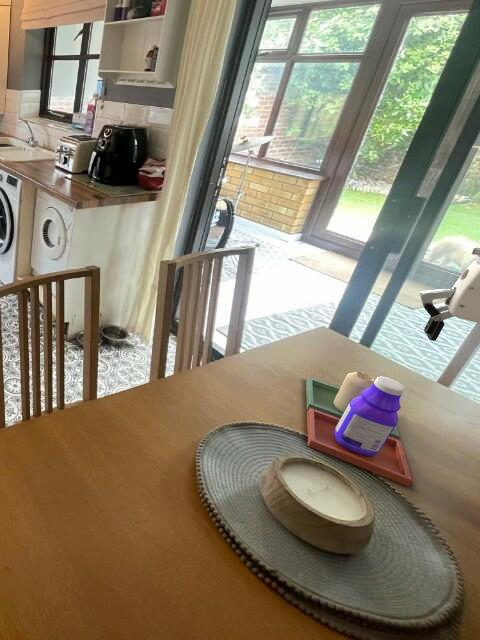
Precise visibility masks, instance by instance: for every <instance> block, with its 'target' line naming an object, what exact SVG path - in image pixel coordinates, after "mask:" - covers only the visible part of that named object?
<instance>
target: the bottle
mask: <svg viewBox="0 0 480 640" xmlns="http://www.w3.org/2000/svg"><path fill="white" fill-rule="evenodd" d="M374 380H375V381H374V383H373V385H372V386H371V387H370V388H368V389H365V390H363V391H362V395H361V396H358V397H356V398H354V399H353V400H352V401H351V402H350V403H349V405H348V407H347V408H346V410H345V412H344V414H343V415H342V417H341V419H340V421H339V423H338V424H337V426H336V428H335V438H336V441H337V442H338V444H339V445H341V446H342V447H344V448H346V449H348V450H350V451H353V452H355V453H358V454H361V455H364V456H374V455H376V454H377V453H378V452H379V451H380V449H381V448H382V446H383V445H384V443H385V442H386V440H387V439H388V437H389V436H390V434H391V433H392V431H393V430H394V428H395V427H396V425H397V426H398V423H399V417H398V416H399V415H398V412H399V411H400V410H401V408H402V407H401V402H400V401H401V400H400V399H401V398H402V395H403V393H404V392H405V386H404V385H403V384H401V382H399V381H397V380H395V379H393V378H390V377H387V376H381V375H380V376H377V377H376V378H375V379H374Z"/></svg>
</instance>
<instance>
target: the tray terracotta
mask: <svg viewBox="0 0 480 640" xmlns="http://www.w3.org/2000/svg"><path fill="white" fill-rule="evenodd" d="M306 421H307V424H306V425H307V446H308V447H310V448H312V449H315V450H317V451H320V452H322V453H324V454H326V455H327V454H328V455H330V456H332V457H335V458H337V459H339V460H342V461H345V462H347V463H349V464H352V465H354V466H357V467H358V468H361V469H364V470H367V471H369V472H371V473H374V474H377V475H378V476H381V477H384V478H387V479H389V480H391V481H394V482H396V483H398V484H402V485H403V486H406V487H409V486H410V485H411V483H412V482H413V478H412V474H411V471H410V467H409V464H408V461H407V457H406V453H405V449H404V448H403V443H402V440H400V439H398V440H397V439H394V438H392V437H388V439H387V440H386V442H385V443H384V445H383V446H382V448H381V449H380V451H379V452H378V453H377V454H376V455H374V456H364V455H361V454H358V453H355V452H353V451H350V450H348V449H346V448H344V447H342V446H341V445H339V444H338V442H337V441H336V438H335V428H336V426H337V424H338V423H339V421H340V418H337V417H334V416H331V415H329V414H326V413H323V412H320V411H318V410H315V409H312V408H309V410H308V409H307V412H306Z"/></svg>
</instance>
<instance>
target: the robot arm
mask: <svg viewBox="0 0 480 640" xmlns="http://www.w3.org/2000/svg"><path fill="white" fill-rule="evenodd" d="M471 255H472V256H477V257H479V258H480V247H474V248H473V249H472V252H471ZM419 296H420V301H421V303H422V304H421V305H422V306H423V308H424V310H425V311H426V313H428V315H429V316H430V317H429V319H428V321H427V322H426V324H425V326H424V328H423V332H424V333H425V334H426V336H427V339H428V340H429V341H432V342H435V341H437V339H438V338H439V336H440V334H441V332H442V330H443V329H444V327H445V324H446V323H445V322H444V321H445V320H448V319H451V318H454V317H455V318H457V319H461V320H465V321H468V322H474V323H477V324H480V259H475V260H474V261H473V262H472V263H471V264H470V265H469V266H468V267H467V268H466V269H465V270H464V271H463V272H462V273H461V275H460V276H459V277H458V279H457V280H456V282H455V283H454V284H453V286H452V287H451V288H444V289H442V288H441V289H433V290H424V291H423V290H422V291H420V292H419ZM439 299H440V300H441V299H445V300H444V304H443V305H440V306H438V307H436V306H435V305H434V300H439Z"/></svg>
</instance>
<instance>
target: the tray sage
mask: <svg viewBox="0 0 480 640" xmlns="http://www.w3.org/2000/svg"><path fill="white" fill-rule="evenodd" d="M340 388H341V386H340V387H339V386H336V385H334V384H330V383H328V382H325V381H321V380H319V379H316V378H312V377H310V376H309V377H307V380H305V393H306V410H307V411H308V410H309V408H312V409H315V410H318V411H320V412H323V413H326V414H329V415H331V416H334V417H337V418H340V419H341V417H342V415H343V414H344V413H342V412H340V411H339V410H338V409H337V408H336V407H335V406H334V404H333V402H334V400H335V398H336V396H337V394H338V392H339V390H340ZM389 437H392V438H394V439H397V440H399V439H400V432H399V428H398V424H397V425H396V427H395V428H394V430H393V431H392V433H391V434H390V436H389Z"/></svg>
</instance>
